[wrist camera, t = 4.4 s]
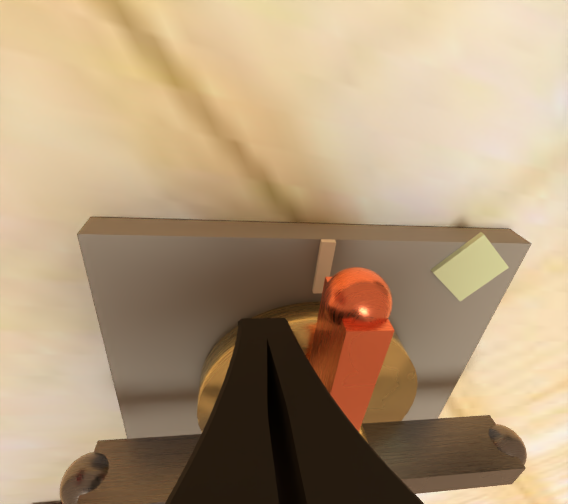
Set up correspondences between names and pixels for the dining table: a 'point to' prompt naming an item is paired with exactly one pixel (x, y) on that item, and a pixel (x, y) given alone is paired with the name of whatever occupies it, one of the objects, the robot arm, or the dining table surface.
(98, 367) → the dining table surface
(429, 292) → the stand board
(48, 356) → the dining table surface
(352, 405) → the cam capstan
